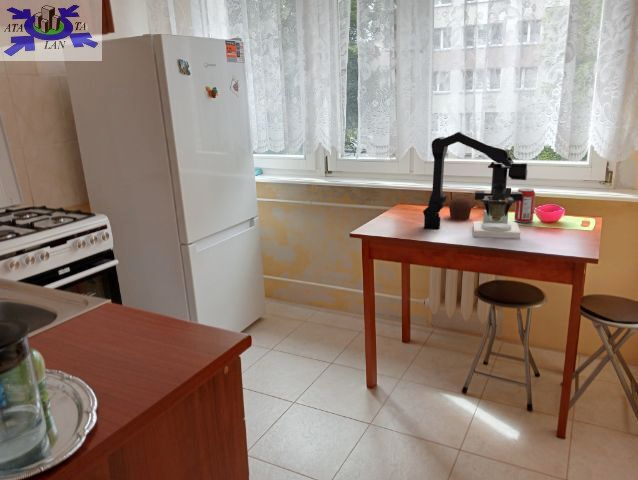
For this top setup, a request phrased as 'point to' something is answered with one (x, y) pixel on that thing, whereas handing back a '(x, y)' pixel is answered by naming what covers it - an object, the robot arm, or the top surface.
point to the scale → (495, 227)
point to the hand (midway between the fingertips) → (496, 215)
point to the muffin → (460, 208)
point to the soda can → (525, 206)
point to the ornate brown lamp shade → (497, 209)
